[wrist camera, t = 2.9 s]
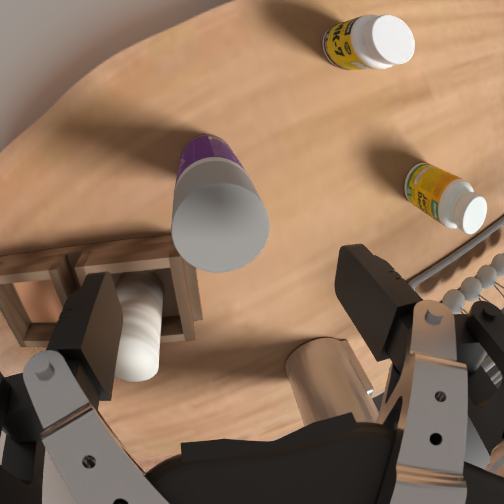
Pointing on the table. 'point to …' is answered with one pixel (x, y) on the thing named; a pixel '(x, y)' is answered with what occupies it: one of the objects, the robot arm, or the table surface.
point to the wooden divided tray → (127, 287)
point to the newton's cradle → (470, 282)
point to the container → (216, 208)
